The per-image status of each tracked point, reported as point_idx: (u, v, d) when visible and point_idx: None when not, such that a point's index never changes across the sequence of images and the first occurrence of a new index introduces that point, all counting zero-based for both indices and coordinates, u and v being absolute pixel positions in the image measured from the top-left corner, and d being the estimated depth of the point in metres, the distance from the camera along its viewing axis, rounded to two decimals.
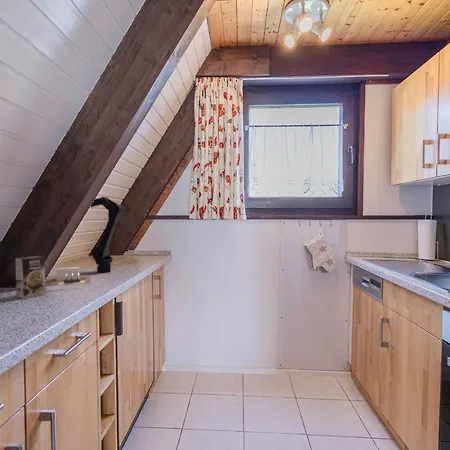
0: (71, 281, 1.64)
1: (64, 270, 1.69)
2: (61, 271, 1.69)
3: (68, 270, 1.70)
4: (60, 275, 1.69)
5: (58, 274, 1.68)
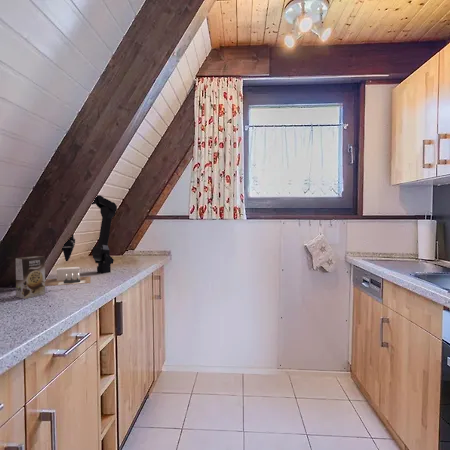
0: (71, 281, 1.64)
1: (64, 270, 1.69)
2: (61, 271, 1.69)
3: (68, 270, 1.70)
4: (60, 275, 1.69)
5: (58, 274, 1.68)
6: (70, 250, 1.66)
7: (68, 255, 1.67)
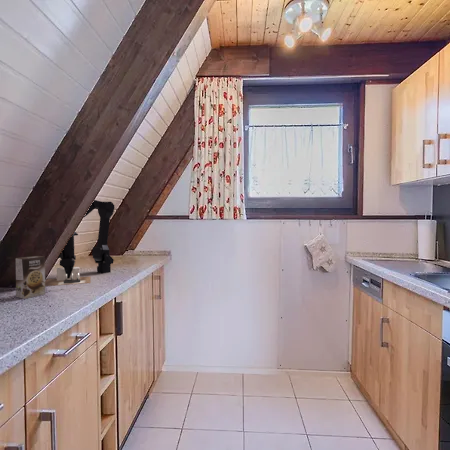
0: (71, 281, 1.64)
1: (64, 270, 1.69)
2: (61, 271, 1.69)
3: None
4: (60, 275, 1.69)
5: (58, 274, 1.68)
6: (71, 267, 1.69)
7: (69, 272, 1.69)
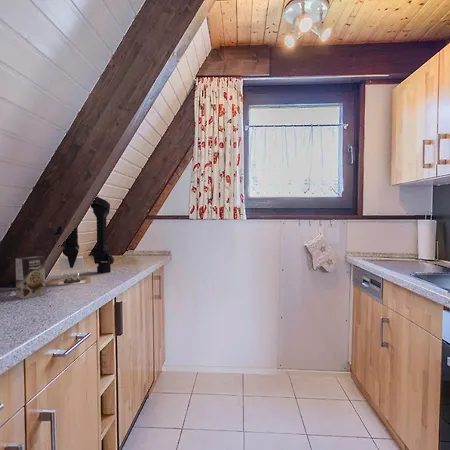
0: (71, 281, 1.64)
1: (67, 259, 1.61)
2: (64, 260, 1.61)
3: None
4: (63, 264, 1.61)
5: (61, 263, 1.60)
6: (75, 256, 1.61)
7: (73, 262, 1.61)
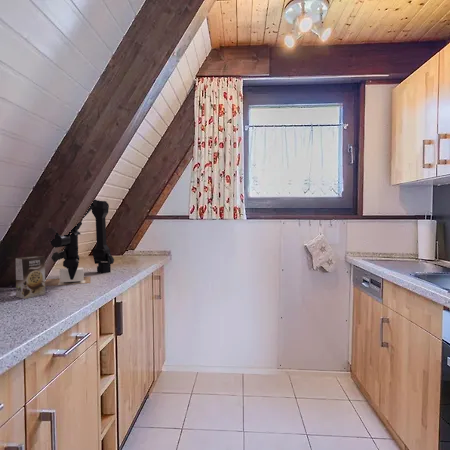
0: None
1: (67, 271, 1.61)
2: (64, 272, 1.61)
3: None
4: (63, 276, 1.61)
5: (61, 275, 1.61)
6: (75, 268, 1.61)
7: (73, 273, 1.61)
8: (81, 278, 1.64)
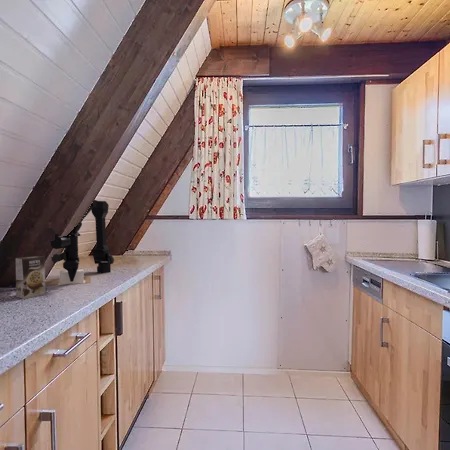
0: None
1: (67, 273, 1.62)
2: (64, 274, 1.61)
3: None
4: (63, 278, 1.61)
5: (61, 277, 1.61)
6: (75, 270, 1.60)
7: (73, 275, 1.60)
8: (81, 280, 1.64)
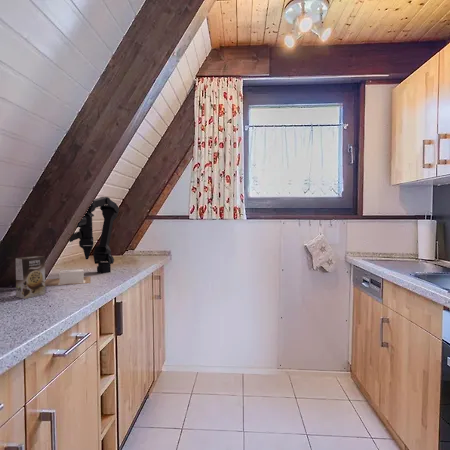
0: None
1: (67, 273, 1.62)
2: (64, 274, 1.61)
3: (71, 273, 1.62)
4: (63, 278, 1.61)
5: (61, 277, 1.61)
6: (90, 248, 1.68)
7: (88, 253, 1.69)
8: (81, 280, 1.64)
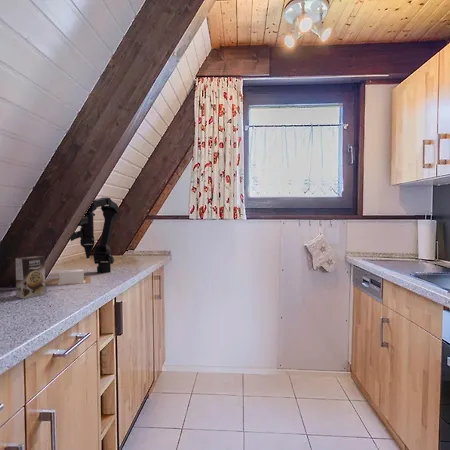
0: None
1: (67, 273, 1.62)
2: (64, 274, 1.61)
3: (71, 273, 1.62)
4: (63, 278, 1.61)
5: (61, 277, 1.61)
6: (91, 247, 1.69)
7: (89, 252, 1.69)
8: (81, 280, 1.64)
